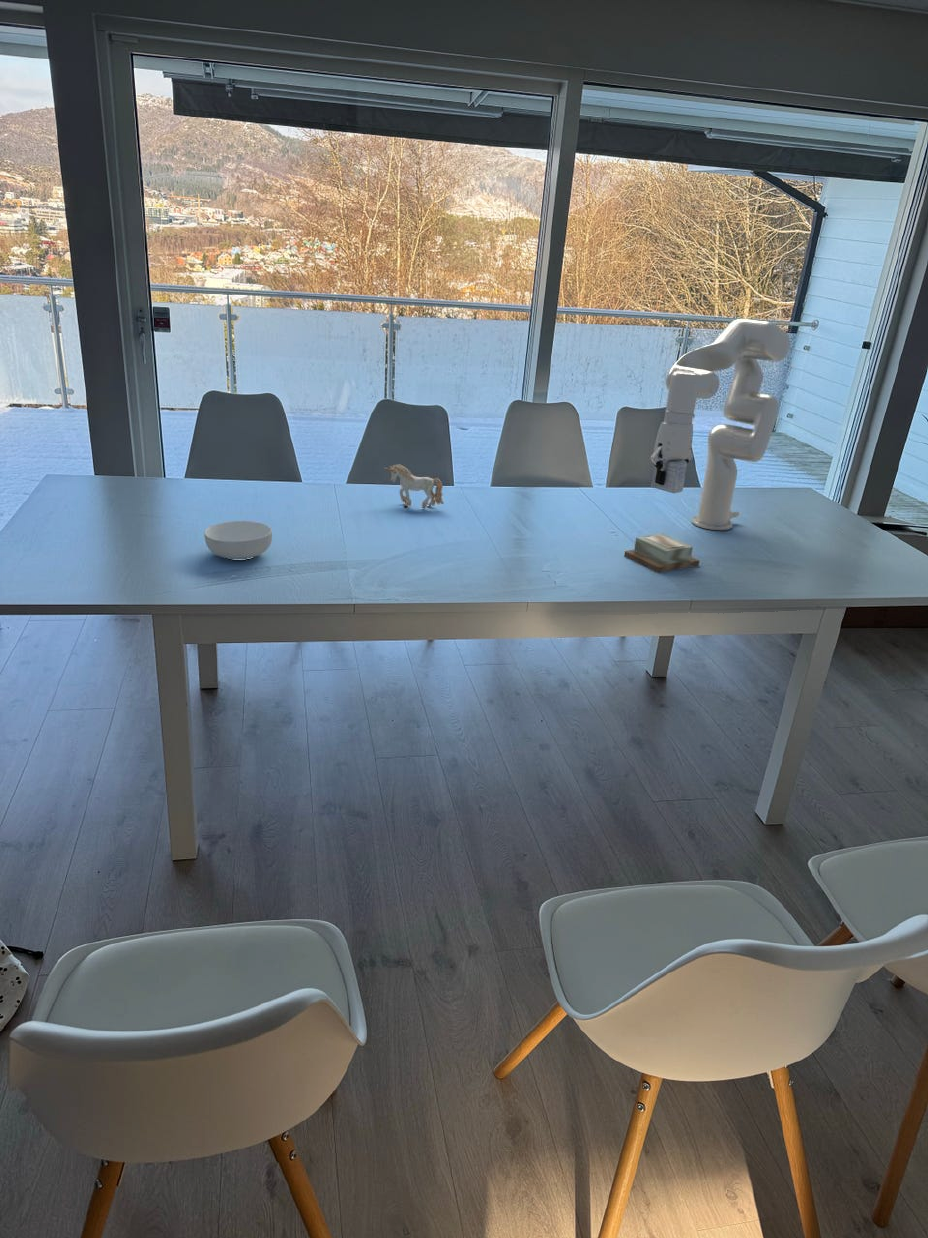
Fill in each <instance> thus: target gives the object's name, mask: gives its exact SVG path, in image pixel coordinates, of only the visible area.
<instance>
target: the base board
mask: <svg viewBox="0 0 928 1238" xmlns="http://www.w3.org/2000/svg"><path fill="white" fill-rule="evenodd" d="M693 549H694V547H693V546H692V545H690V544H687V543H686V542H682V541H680V540H678V539H676V538H674V537H671V536H670V535H667V534H665V533H658V534H651V535H644V536H638V537H636V538H635V543H634V549H629V550H624V557H626V558H627V559H628V560H629V559H630V560H632V561H633V562H636V563H638V564H639V565H641V566H643V567H645V568H648V569H649V570H652V571H654V572H655V573H658V574H660V573H666V572H670V571H671V570H672V571H675V570H682V568H683V569H687V568H686V567H688V568H692V567H691V566H694V567H699V566H698V565H700V559H698V558H695V557H693V556H692V552H693Z"/></svg>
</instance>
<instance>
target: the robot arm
mask: <svg viewBox="0 0 928 1238" xmlns="http://www.w3.org/2000/svg"><path fill="white" fill-rule="evenodd" d="M790 349H791V339H790V336H789V334H788V333H787V332H786V330H783V329H782V328H781V327H779V326H778V325H776V324H775V323H773V322H769V321H765V320H756V319H749V318H748V319H747V318H738V319H734V320H732V321H730V323H728V325H727V326H726V327H725V328H724V329H723V330H722V331H721V332H720V334H718V336H717V337H716V338H715V339H714V340H713V342H711V343H710V344H707V345H703V346H701V347H697V348H696V349H693V350H690V351H689V352H687V353H685V354H683V355H682V356H680V357H679V359H677V361H675V363H674V364H673V365H672V366H671V368H670V369H669V371H668V372H667V374H666V378H665V385H666V388H667V390H668V393H667V394H668V395H667V401H666V405H665V406H666V407H665V414H664V418H663V421H662V422H661V423H660V425H659V428H658V431H657V434H656V439H655V442H654V447H653V453H652V454H651V456H650V457H649V460H650V461H651V462H652V463H653V465H655V468H656V469H657V472H656V479H655V483H657V484H659V485H664V483H665V477H666V471H665V468H666V466H667V464H668V461H673V460H683V461H686V462H687V465H688V464H689V462H690V461H692V459H693V458H694V456H695V455H694V452H693V451H692V447H693V439H694V438H693V437H694V424H693V420H694V418H695V416H696V415H695V408H696V403H697V399H702V400H707V399H710V398H712V397H713V396H715V394H717V393H718V390H719V388H720V378H719V376H718V374H716V373H715V372H718V371H723V370H727V369H729V368H731V367H732V366H733V365H734V375H733V378H732V381H731V385H730V387H729V390H728V393H727V396H726V398H725V402H724V406H723V411H722V412H723V417H725V419H727V420H729V421H732V422H735V423H740V424H746V425H751V426H754V428H749V427H743V426H740V425H739V426H738V425H734V424H727V423H726V424H725V423H720V424H717V425H715V426H713V427H712V428H711V430H710V431H709V434H708V436H707V458H706V459H707V460H706V461H707V462H706V468H705V473H704V479H703V484H702V490H701V497H700V502H699V507H698V514H697V515H695V516H693V517H692V518H691V522H692V524H694V525H695V526H697V527H700V528H703V529H707V530H712V531H727V530H730V529H732V528H733V522H732V521H731V519H733V518H737V517H740V512H739V511H738V510H736V511H735V510H734V511H732V510H731V508H732V504H733V499H734V492H735V488H736V482H737V477H738V467H737V464H736V462H735V460H739V461H744V462H750V463H757V462H759V461H761V460H762V459H763V457H764V456H765V453H766V452H767V451H766V450H767V449H768V446H769V442H770V439H771V436H772V434H773V430H774V428H775V424H776V422H777V419H778V414H779V411H780V410H779V409H780V408H779V407H780V404H779V401H778V399H777V398H776V397H775V396H774V395H771V394H767V393H762V392H760V390H761V387H762V383H763V380H764V374H763V370H762V368H761V366H760V363H759V362H758V361H759V360H761V361H767V362H776V363H778V362H782V361H783V360H784V359H786V357H787V356H788V354H789V351H790ZM658 458H659V459H658ZM734 459H735V460H734ZM662 461H664V462H663V464H661V463H662Z"/></svg>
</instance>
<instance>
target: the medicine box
mask: <svg viewBox="0 0 928 1238" xmlns="http://www.w3.org/2000/svg"><path fill="white" fill-rule="evenodd" d="M658 459H659V458H658ZM663 462H664V461H662V463H661V464H663ZM653 465H654V464H653ZM687 466H688V464H687V462H686V461H683V460H673V461H668V464H667V466H666V468H665V471H666V477H665V483H664V485H659V484H657V483H655V479H656V472H657V469H656V468H655V465H654V466H653V471H652V477H651V484H650V487H651V488H653V489H658V490H661V491H664V492H668V493H672V494H678V493H682V492H683V490H684V484H685V478H686V473H687V472H686V471H687Z"/></svg>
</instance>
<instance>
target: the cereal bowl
mask: <svg viewBox="0 0 928 1238" xmlns="http://www.w3.org/2000/svg"><path fill="white" fill-rule="evenodd" d="M203 534H204V540H205V544H206V547H207V548H208V549H209V551H210V552H211V553H213V554H215V555H216V556H217V557H221V558H224V559H226V558H229V559H247V558H251V557H254V556H255V557H257V556H259V555H262V554H263V553H264V552H266V551H267V550H268V549H269V547H270V546H271V544H272V541H273V540H272V539H273V530H272V528H271V527H270V526H269V525H267V524H266V523H265V524H264V523H263V522H262V523H261V522H257V521H249V520H248V521H247V520H234V521H233V520H232V521H225V522H219V523H217V524H213V525H210V526H209V527H207V528H206V529H205V530H204V533H203ZM255 557H254V558H255Z"/></svg>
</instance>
